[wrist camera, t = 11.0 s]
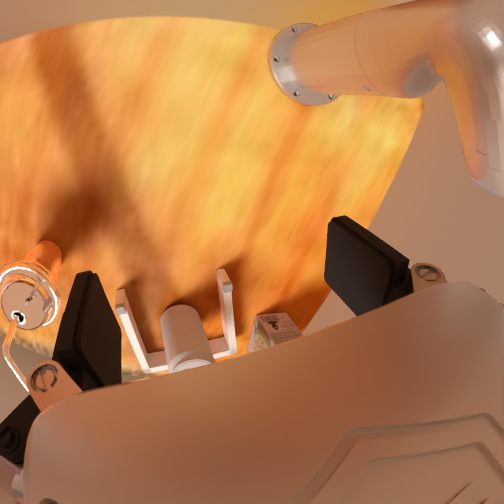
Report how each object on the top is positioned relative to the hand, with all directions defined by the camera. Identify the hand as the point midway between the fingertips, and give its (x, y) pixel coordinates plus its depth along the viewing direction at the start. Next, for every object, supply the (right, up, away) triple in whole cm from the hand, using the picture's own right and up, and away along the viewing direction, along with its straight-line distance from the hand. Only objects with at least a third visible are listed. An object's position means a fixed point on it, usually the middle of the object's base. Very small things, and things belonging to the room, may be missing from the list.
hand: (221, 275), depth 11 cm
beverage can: (-10, -9, +34) cm, 36 cm away
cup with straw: (-27, 0, +21) cm, 34 cm away
